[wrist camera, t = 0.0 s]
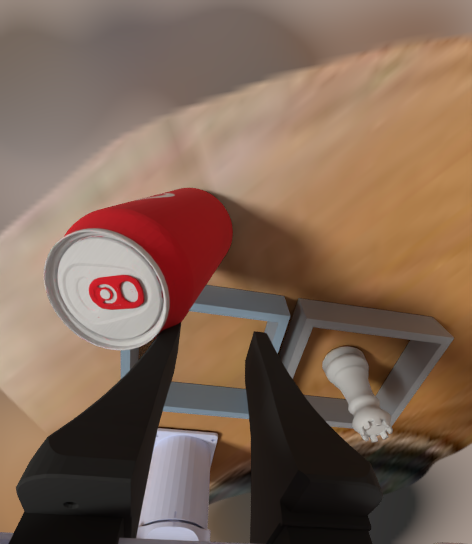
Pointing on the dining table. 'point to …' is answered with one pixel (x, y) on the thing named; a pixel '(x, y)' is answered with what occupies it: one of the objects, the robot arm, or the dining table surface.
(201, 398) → the slate bin
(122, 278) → the beverage can
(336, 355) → the rook chess piece
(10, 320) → the dining table surface
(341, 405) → the charcoal bin
